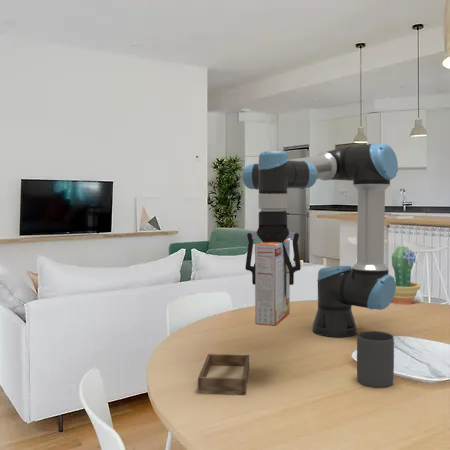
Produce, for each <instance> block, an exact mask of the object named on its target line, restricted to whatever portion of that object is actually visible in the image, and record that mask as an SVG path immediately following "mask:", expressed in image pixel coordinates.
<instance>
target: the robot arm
mask: <svg viewBox="0 0 450 450" xmlns="http://www.w3.org/2000/svg"><path fill="white" fill-rule="evenodd" d="M398 168H399V163H398V156H397V154H396V153H395V151H394V149H393V148H392V146H390V145H389V144H387V143H368V144H360V145H349V146H344V147H339V148H335V149H332V150H328V151H321V152H319V153H318V154H317V155H315V156H307V157H299V158H293V159H292V158H291V159H289V158H288V153H287V152H286V151H283V150H266V151H262V152H260V153H259V155H258V163H252V164H248V165H246V166H245V168H244V169H243V171H242V182H243V185H244V186H245V187H246V188H247V189H248V190H257V191H258V209H259V210H260V211H259V212H258V228H257V230H256V231H253V232H247V236H246V237H247V240H248V241H247V242H248V244H247V253H246V260H245V267H244V268H245V270H246V271H248V272H251V275H252V278H251V281H252V282H251V283H252V285H255V263H254V264H253V265H251V264H252V255H253V249H254V241H255V240H256V238H257V236H258V238H259V239H260V241H261V243H262V242H278V243H282V245H283V256H284V259H285V261H286V264H287V267H288V269H289V272H286V298H289V285H290V286H292V285H294V282H295V281H294V277H295V275H294V274H295V273H296V272H298V271H300V270H302V269H301V268H302V267H301V259H300V252H299V251H300V250H299V243H298V241H299V236H300V234H299V233H298V231H297V232H294V231H290V230H289V229H288V212H287V211H286V209H288V189H299V190H304V189H309V188H311V187H313V186H314V185H315V184H316V182H317V180H319V179H320V180H321V181H330V180H331V181H332V180H333V181H335V180H336V181H353V183H352V184H353V185H352V186H353V187H354V188H355V189H356V190H357V219H356V220H357V221H356V224H357V229H356V232H357V233H356V234H357V237H356V262H355V264H354V265H353V266H351V265H336V266H328V267H327V266H325V267H322V268H320V269H319V270H318V272H317V280H316V281H317V311H316V314H315V317H314V320H313V322H312V332H314V333H315V334H317V335H319V336H325V337H329V338H330V337H333V338H344V337H351V336H353V335H356V334H357V323H356V320H355V317H354V313H353V310H352V307H354V306H355V307H360V308H365V309H369V310H378V311H380V310H385V309H386V308H388V307H389V306H390V304H391V303H392V300H393V297H394V294H395V289H396V283H395V282H396V280H395V276H394V277H393V276H392V275H391V274H389V267H388V266H387V265H386V264H385V260H384V259H385V211H386V210H385V208H386V190H387V189H388V188H389V187H390V186H391V180H393V179H395V178H396V176H397V173H398V170H399V169H398ZM288 236H289V238H290V240H291V241H292V248H293V249H292V250H293V257H294V264H295V265H292V261H291V260H290V259H291V258H290V259H289V256H288V254H287V251H286V249H285V246H284V243H283V242H284V240H287V238H288Z"/></svg>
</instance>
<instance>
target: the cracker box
mask: <svg viewBox="0 0 450 450" xmlns="http://www.w3.org/2000/svg"><path fill="white" fill-rule="evenodd" d="M290 240H291V239H290ZM290 240H289V239H285V240H284V242H283V243H284V246H285V249H286V251H287V254H288V256H289V259H291V258H290V257H291V256H290V255H291V254H290V253H291V246H290V245H291V242H290ZM254 264H255V287H254V289H255V290H254V292H255V293H254V295H255V296H254V297H255V298H254V299H255V301H254V303H255V305H254V306H255V308H254V309H255V316H254V317H255V321H254V322H255V325H259V326H270V327H271V326H272V327H277V326H278V325H280V323H281V322H283V320H284V319H286V318H287V317H288V316H290V307H291V304H290V303H291V302H290V301H291V300H290V299H291V298H290V296H291V295H290V293H291V292H290V291H291V288H290V287H291V285H289V298H286V272H289V269H288V267H287V264H286V261H285V259H284V256H283V245H282V243H278V242H262V241H261V242H259V243H255V244H254Z"/></svg>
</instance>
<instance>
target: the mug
mask: <svg viewBox="0 0 450 450" xmlns="http://www.w3.org/2000/svg"><path fill="white" fill-rule="evenodd" d="M394 339H395V338H394V335H392V334H391V333H388V332H384V331H379V330H378V331H376V330H375V331H374V330H372V331H371V330H370V331H367V330H365V331H361V332H358V334H357V338H356V379H357V382H358V383H360V385H361V384H362V385H363V386H366V387H369V388H370V387H371V388H380V389H381V388H388V387H390V386H392V385H393V383H394V375H395V373H394V372H395V360H394V359H395V340H394Z"/></svg>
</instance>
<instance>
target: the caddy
mask: <svg viewBox="0 0 450 450" xmlns="http://www.w3.org/2000/svg"><path fill="white" fill-rule="evenodd" d="M249 373H250V355H249V354H223V353H221V354H220V353H219V354H217V353H208V354H207V355H206V358H205V361H204V362H203V365H202V367H201V370H200V373H199V375H198V377H197V387H198V389H197V392H198V394H207V395H208V394H209V395H210V394H213V395H246V393H247V387H248V381H249Z"/></svg>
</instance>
